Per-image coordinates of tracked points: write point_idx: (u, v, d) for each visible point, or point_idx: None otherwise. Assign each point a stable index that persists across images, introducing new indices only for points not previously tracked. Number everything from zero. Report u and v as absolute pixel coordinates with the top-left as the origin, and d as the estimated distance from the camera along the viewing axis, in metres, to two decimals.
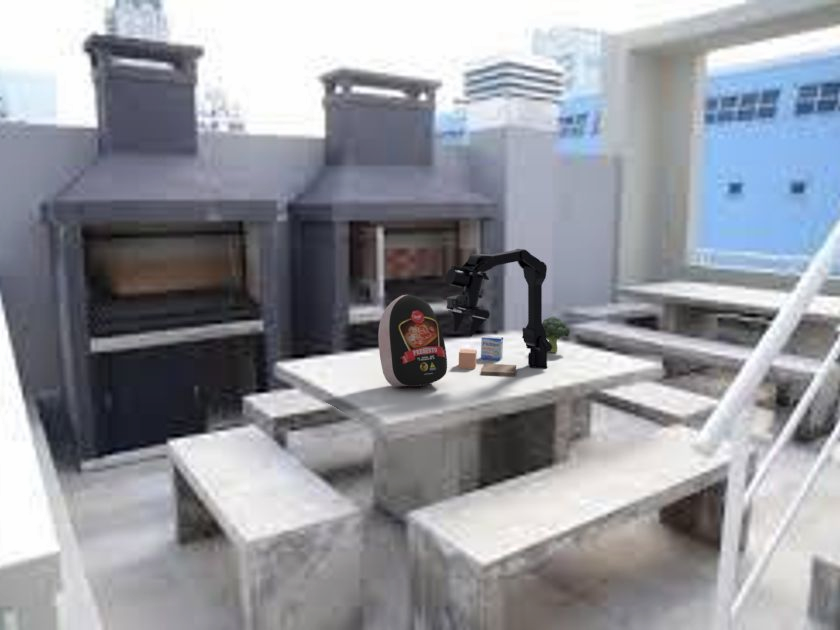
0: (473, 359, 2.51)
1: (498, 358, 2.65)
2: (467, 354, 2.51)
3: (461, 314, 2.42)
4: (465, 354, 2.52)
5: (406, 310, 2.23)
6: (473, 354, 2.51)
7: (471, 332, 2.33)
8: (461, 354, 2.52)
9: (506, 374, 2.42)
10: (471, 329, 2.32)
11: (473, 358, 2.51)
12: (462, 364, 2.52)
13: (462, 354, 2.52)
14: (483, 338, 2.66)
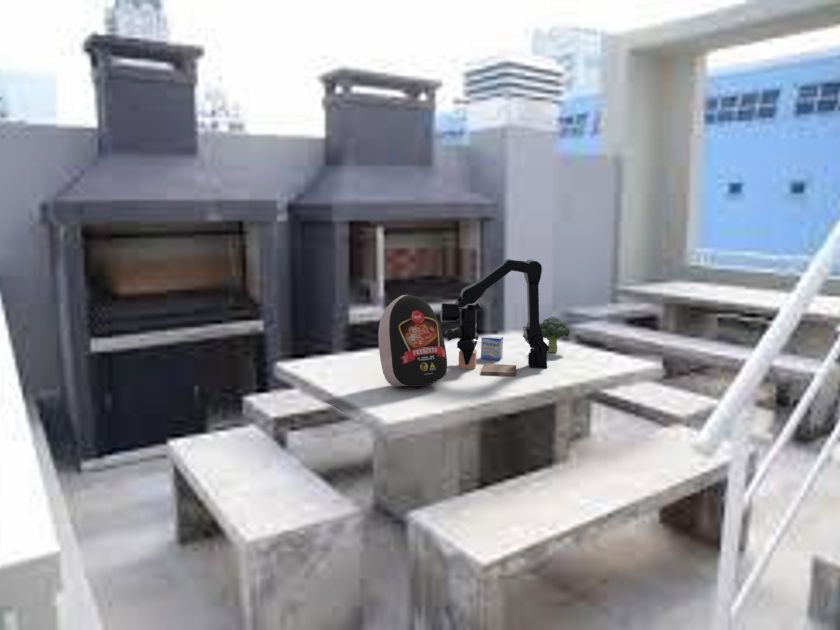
0: (473, 359, 2.51)
1: (498, 358, 2.65)
2: None
3: None
4: None
5: (406, 310, 2.23)
6: (473, 354, 2.51)
7: (466, 360, 2.51)
8: (461, 354, 2.52)
9: (506, 374, 2.42)
10: (464, 357, 2.51)
11: (473, 358, 2.51)
12: (462, 364, 2.52)
13: (462, 354, 2.52)
14: (483, 338, 2.66)
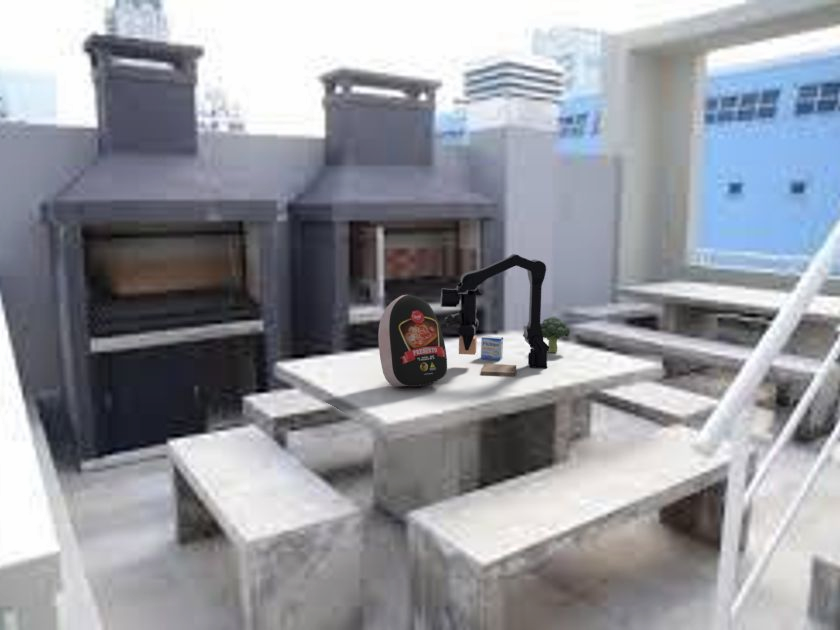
0: (473, 345, 2.50)
1: (498, 358, 2.65)
2: None
3: None
4: None
5: (406, 310, 2.23)
6: (473, 339, 2.50)
7: (466, 346, 2.50)
8: (461, 340, 2.51)
9: (506, 374, 2.42)
10: (464, 343, 2.50)
11: (473, 343, 2.50)
12: (462, 350, 2.51)
13: (462, 340, 2.51)
14: (483, 338, 2.66)
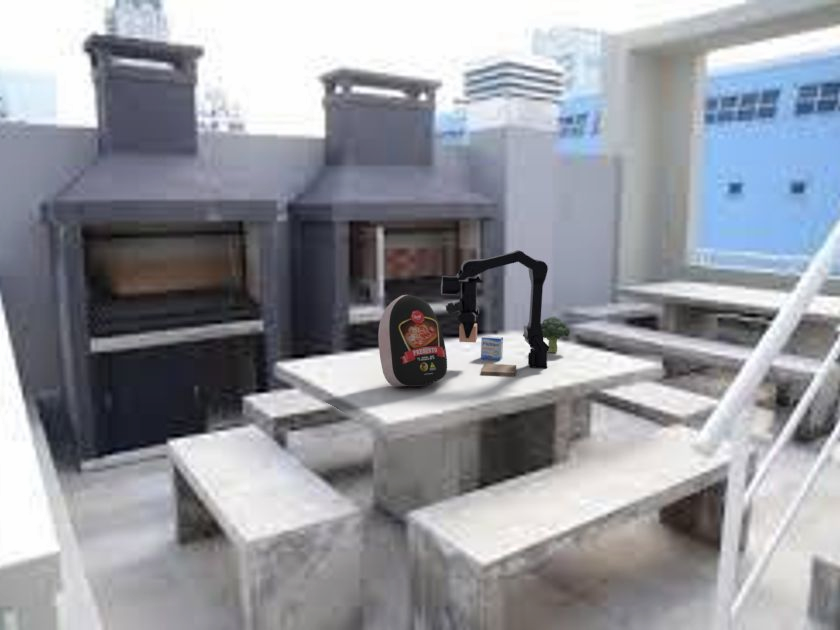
0: (474, 332, 2.50)
1: (498, 358, 2.65)
2: None
3: None
4: None
5: (406, 310, 2.23)
6: (474, 327, 2.49)
7: (466, 334, 2.49)
8: (462, 327, 2.50)
9: (506, 374, 2.42)
10: (465, 331, 2.49)
11: (474, 331, 2.50)
12: (463, 338, 2.51)
13: (463, 327, 2.50)
14: (483, 338, 2.66)
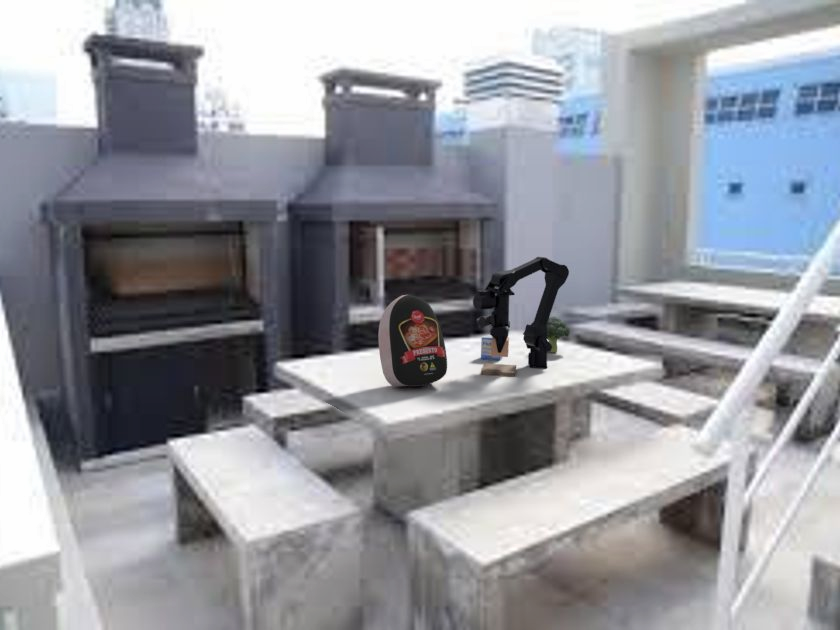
0: (506, 347, 2.44)
1: (498, 358, 2.65)
2: None
3: None
4: None
5: (406, 310, 2.23)
6: (506, 341, 2.43)
7: (499, 348, 2.43)
8: (493, 341, 2.44)
9: (506, 374, 2.42)
10: (497, 345, 2.43)
11: (506, 346, 2.43)
12: (495, 352, 2.45)
13: (495, 341, 2.44)
14: (483, 338, 2.66)
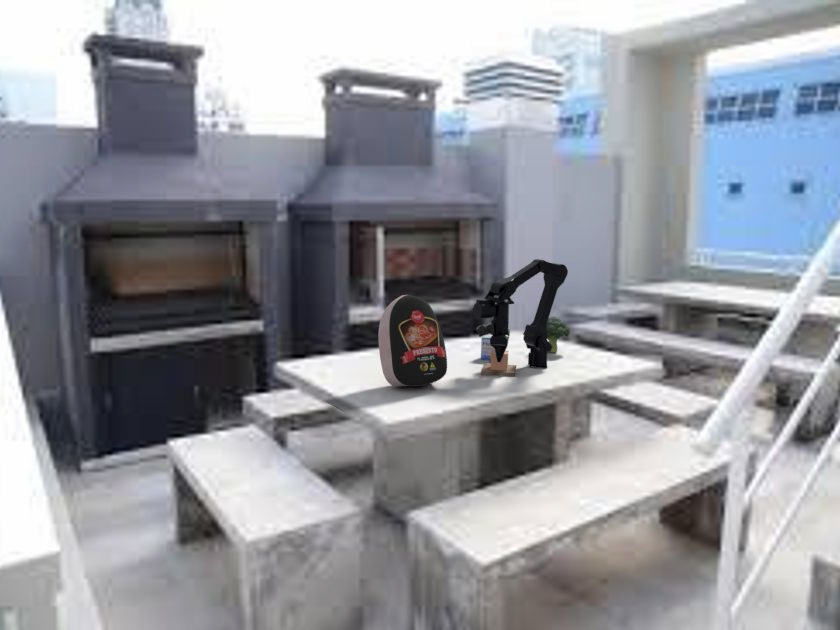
0: (505, 360, 2.44)
1: None
2: None
3: None
4: None
5: (406, 310, 2.23)
6: (505, 355, 2.44)
7: (498, 358, 2.42)
8: (493, 355, 2.45)
9: (506, 374, 2.42)
10: (496, 355, 2.42)
11: (505, 359, 2.44)
12: (494, 366, 2.45)
13: (494, 355, 2.45)
14: (483, 338, 2.66)
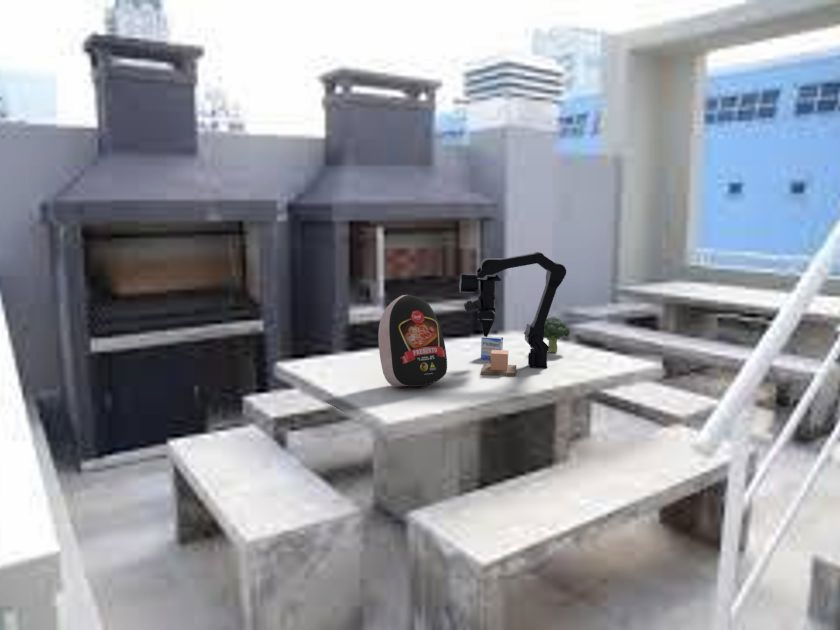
0: (505, 360, 2.44)
1: None
2: (499, 355, 2.44)
3: None
4: (497, 355, 2.44)
5: (406, 310, 2.23)
6: (505, 355, 2.44)
7: (485, 333, 2.49)
8: (493, 355, 2.45)
9: (506, 374, 2.42)
10: (483, 330, 2.48)
11: (505, 359, 2.44)
12: (494, 366, 2.45)
13: (494, 355, 2.45)
14: (483, 338, 2.66)
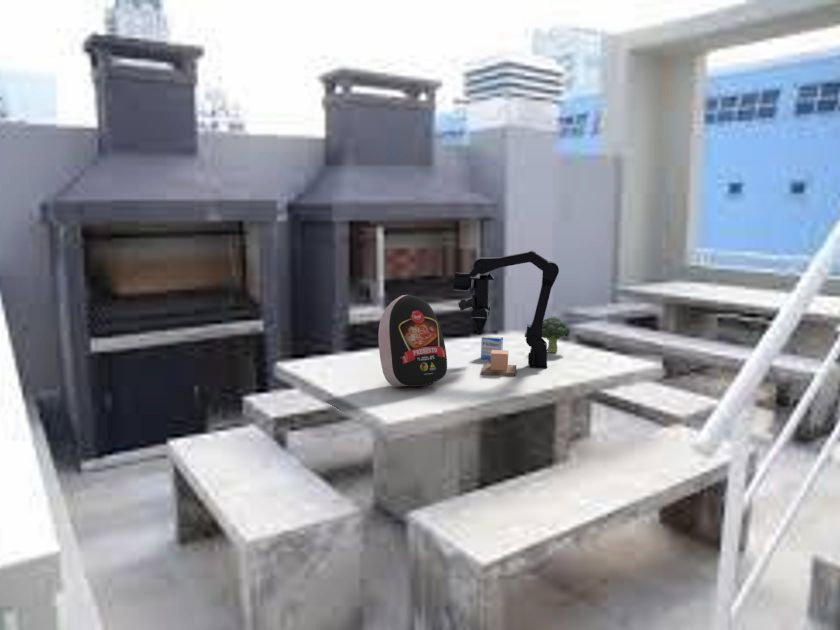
0: (505, 360, 2.44)
1: None
2: (499, 355, 2.44)
3: None
4: (497, 355, 2.44)
5: (406, 310, 2.23)
6: (505, 355, 2.44)
7: (478, 331, 2.53)
8: (493, 355, 2.45)
9: (506, 374, 2.42)
10: (477, 328, 2.53)
11: (505, 359, 2.44)
12: (494, 366, 2.45)
13: (494, 355, 2.45)
14: (483, 338, 2.66)
